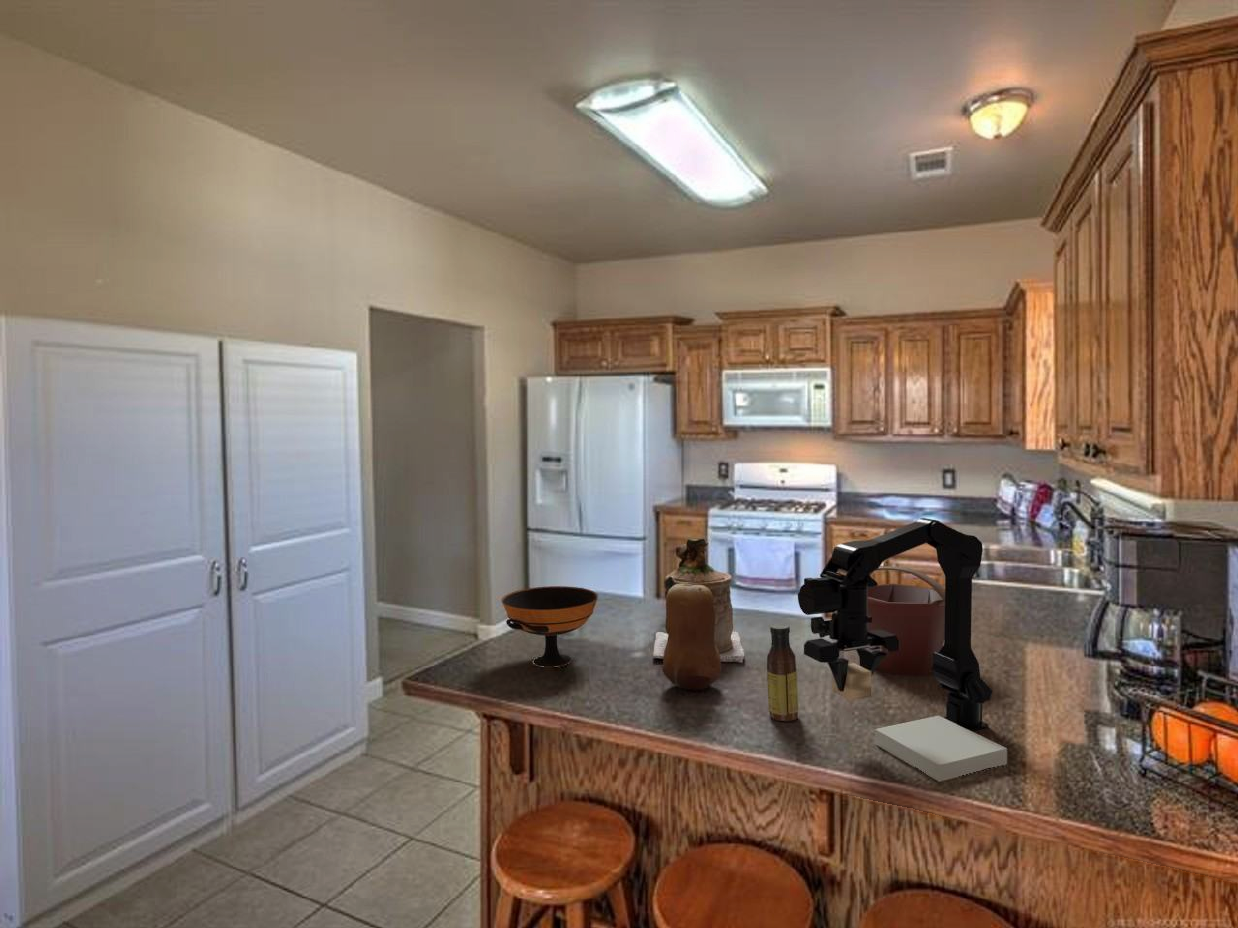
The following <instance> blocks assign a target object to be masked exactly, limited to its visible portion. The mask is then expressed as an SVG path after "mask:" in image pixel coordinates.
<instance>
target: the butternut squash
mask: <svg viewBox="0 0 1238 928" xmlns="http://www.w3.org/2000/svg"><path fill="white" fill-rule="evenodd" d="M664 621H665V626H664V627H665V631H666V632H665V633H667V634H668V641H667V644H666V647H665V650H664V657H663V659H662V661H663V662H662V664H663V666H662V673H663V675H664V676H665V677H666V678H667V680H669V681H670V683H671V684H672V685H674V686H676V687H678V688H681V689H686V690H687V689H688V690H690V691H694V692H696V691H704V690H706V688H707V687H709V686H711V685H712V684H713V683H715V682H716V681H717V679H718V678H719V677H720V675H721V673H722V662H721V658H720V654H719V652H718V649H717V646H716V644H715V641H714V630H715V607H714V599H713V595H712V593H711V591H710V590H709V589H708V588H707V587H705V586H703V585H690V584H683V583H682V584H676V585H674V586H672V587H671V588H670V589H669V591H668V593H667V596H666V598H665V620H664Z"/></svg>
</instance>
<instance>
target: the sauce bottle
mask: <svg viewBox="0 0 1238 928" xmlns="http://www.w3.org/2000/svg"><path fill="white" fill-rule="evenodd" d="M769 626H770V627H769V629H770V630H769V632H770V634H771V644H770V645H771V647H770V649H769V651H768V654H767V657H766V659H767V660H766V677H767V678H766V679H767V682H766V683H767V701H768V710H769V716H770V717H771V718H772V720H775V721H778V722H787V723H788V722H792V721H795V720H797V719H798V717H799V694H798V693H799V692H798V688H799V687H798V675H797V674H798V673H797V672H798V670H797V666H796V665H797V664H796V663H797V660H796V654H795V652H794V651H793V649H792V648H791V643H790V632H791V627H790V625H789V624H787V623H774V624H771V625H769Z"/></svg>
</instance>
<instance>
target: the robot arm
mask: <svg viewBox="0 0 1238 928" xmlns="http://www.w3.org/2000/svg"><path fill="white" fill-rule="evenodd" d="M924 544H927V545H929V546H931V547H932V548H934V549H935V552H936V558H937V562H938V564H939V566H940V568H941V571H942V573H943V574H944V589H945V631H944V643H943V647H942V648H941V650H940V651H939V652H934V653H933V668H932V672H934V678H935V679H936V680H937V681H938V682H939V686H940V688H941V690H944V691H946V692H947V695H946V696H947V699H946V700H947V701H946V706H945V707H946V709H945V712H946V713H945V714H946V715H945V716H943V718H945V719H947V720H949V721H951V722H953V723H955V724H957V725H959V726H961V727H963V728H966V729H968V730H970V731H972V732H974V731H978V730H981V729H986V728H989V723H987V722H984V721H983V704H985V702H987V701H988V702H989V701H991V697H992V694H993V690H992V689H991V688H990V687H989V685H988V684H987V683H985V681H984V680H983V679H982V678H981V670H980V669H981V668H980V663H979V660H978V658H977V657H976V654H975V653H974V651H973V649H972V605H973V604H972V602H973V601H972V600H973V598H972V597H973V578H974V576H975V574H976V573H977V571H978V570H979V569H980V567H981V562H982V559H983V558H982V557H983V552H984V551H983V549H984V548H983V543H982V541H981V540H980V539H979V538H978V537H977V536H975V535H972V534H966V533H962V532H961V531H959V530H956V529H954V528H952V527H949V526H947V525H946V524H945V523H943V522H941V520H940V521H939V520H937V519H931V518H926V517H921V518H919V519H916V520H915V521H914V522H912V523H909V524H907V525H904V526H902V527H899V528H897V529H894V530H891V531H889V532H886V533H884V534H882V535H879V536H877V537H874V538H872V539H866V540H865V539H864V540H852V541H847V542H842V543H838V544H837V545H835V547H834V548H833V551H832V553H831V557H830V558H829V559H828V561H827V563H826V565H825V567H824V568H823V569H822V571H821V573H820V574H819V577H816V578H815V577H814V578H813V577H805V578H804V579H803V584H802V585H801V586H800V588H799V590H798V592H797V601H798V605H799V608H800V610H801V611H802V613H803V615H804V614H805V615H807V616H810V615H818V614H830V613H831V616H830V617H831V619H828V620H825V619H824V617H823V615H822V616H816V617H815V616H814V617H811V618H810V629H811V633H813V634H814V635H815V634H816V635H817V634H818V635H819V638H815V639H814V638H813V639H809V640H806V641H805V642H804V644H803V655H805V656H806V657H809V658H811V659H812V660H814V661H816V662H819V663H824V664H825V663H826V664H827V665H828V667H829V668H830V671H831V673H832V678H833V677H834V679H835V682H836V685H837V688H838V690H839V691H841V692H843V691H844V687H845V682H846V676H847V669H848V664H849V662H850V661H849V660H848V659H846V658H845V657H844V655H845V652H850V651H856V653H857V655H858V657H859V666H861V667H863V668H865V669H868V670H870V671H871V678H872V676H873V675H874V673H875V671H876V670H877V669H876V668H877V666H878V665H879V663H880V662H881V660H882V659H883V657H886V656H887V654H886V653H884V652H882V648H881V646H882V645H884V649H885V650H886V651H888V652H892V651H898V650H900V641H899V639H898V637H897V636H896V635H894V634H891V633H889V632H886V631H883V630H881V629H880V630H873V631H868V623H870V622H872V617H871V616H868V587H871V586H877V585H879V583H878V581H876V580H875V579H874V578H872V575H870V573H872V572H873V571H874V572H875V570H876V569H878V568H879V567H881V565H882V564H883V563H884V562H885V561H886V560H888V559H890V558H893V557H895V556H898V555H901V554H904V553H905V552H907V551H911V550H913V549H915V548H917V547H920V546H922V545H924ZM876 571H877V570H876ZM839 572H840V573H839ZM874 572H873V573H874ZM842 573H843V574H842ZM873 573H872V574H873ZM827 636H828V638H829V639H831V640H832V641H833V640H836V642H831V641H829V640H827V639H825V637H827Z"/></svg>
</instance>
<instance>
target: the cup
mask: <svg viewBox="0 0 1238 928" xmlns="http://www.w3.org/2000/svg"><path fill="white" fill-rule="evenodd" d="M598 599H599V595H598V593H596V592H595V591H593V590H591V589H587V588H584V587H577V586H567V585H566V586H563V585H562V586H561V585H560V586H554V585H553V586H537V587H536V586H535V587H530V588H525V589H519V590H515V591H512V592H510V593H508V594H506V595H504V596H503V597H502V598H501V604H502V606H503V607H504V610H505V612H506V616H507V617H508V619H507V620H506V623H505V624H506V625H507V627H509V628H510V629H512V630H518V631H519V630H521V631H523V632H525V633H528V634H531V635H536V636H544V640H545V645H544V651H543V652H544V653H543V654H542V655H543V656H542V657H538V656H537V657H538V658H537V659H535V660H534V663H535V665H538V666H544V667H555V666H562V665H565V664H568V663H569V662H570V663H571V662H572V658H571V657H570V656H569V655H567V654H562V653H561V654H560V651H559V646H558V636H561V635H565V634H568V633H571V632H573V631H576V630H578V629H579V628H581V627H583V625H585V624H586V623H587V622H588V621H589V619H590V617H591V616H592V615H593V614H594V609H595V607H596V603H597V602H598ZM570 663H569V664H570ZM569 664H568V665H569Z"/></svg>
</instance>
